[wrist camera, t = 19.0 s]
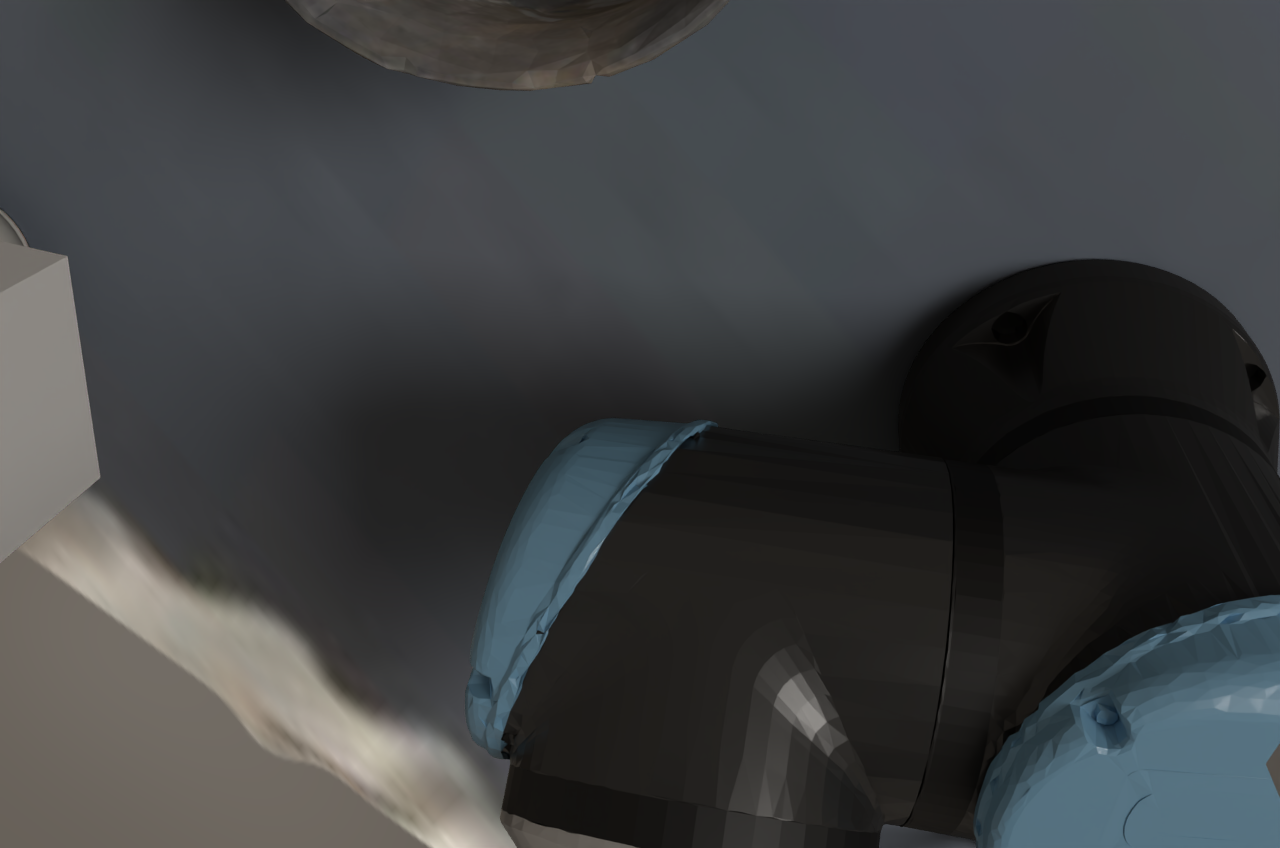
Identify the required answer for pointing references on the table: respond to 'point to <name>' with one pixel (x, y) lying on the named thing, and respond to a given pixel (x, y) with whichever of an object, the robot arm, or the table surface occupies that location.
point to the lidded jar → (10, 231)
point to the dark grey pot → (509, 36)
